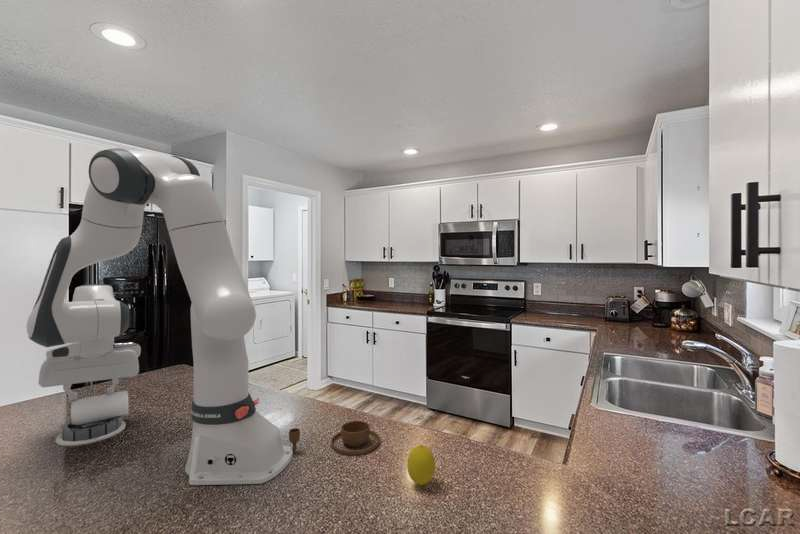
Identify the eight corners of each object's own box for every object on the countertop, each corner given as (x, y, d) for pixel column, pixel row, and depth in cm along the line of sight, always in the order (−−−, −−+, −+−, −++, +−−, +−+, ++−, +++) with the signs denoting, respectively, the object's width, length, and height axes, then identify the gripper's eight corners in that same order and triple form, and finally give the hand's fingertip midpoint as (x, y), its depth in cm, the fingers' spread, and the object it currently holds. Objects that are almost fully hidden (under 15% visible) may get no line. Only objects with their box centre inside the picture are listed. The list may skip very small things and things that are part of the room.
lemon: (426, 496, 70) (427, 454, 70) (402, 487, 73) (402, 447, 73) (439, 482, 75) (439, 442, 75) (415, 474, 78) (416, 436, 78)
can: (129, 401, 99) (69, 413, 91) (129, 419, 101) (70, 432, 94) (127, 385, 103) (70, 395, 96) (127, 402, 106) (71, 414, 98)
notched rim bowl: (138, 424, 102) (138, 412, 102) (88, 448, 88) (88, 434, 88) (95, 420, 105) (95, 409, 105) (39, 444, 91) (39, 430, 91)
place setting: (369, 468, 81) (369, 441, 81) (284, 459, 85) (284, 433, 85) (386, 432, 98) (386, 410, 98) (316, 426, 102) (316, 405, 102)
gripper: (140, 339, 106) (139, 387, 106) (42, 346, 94) (41, 400, 94) (141, 343, 101) (140, 394, 101) (37, 352, 89) (36, 409, 89)
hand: (91, 397), depth 98 cm, fingers open, 6 cm apart
